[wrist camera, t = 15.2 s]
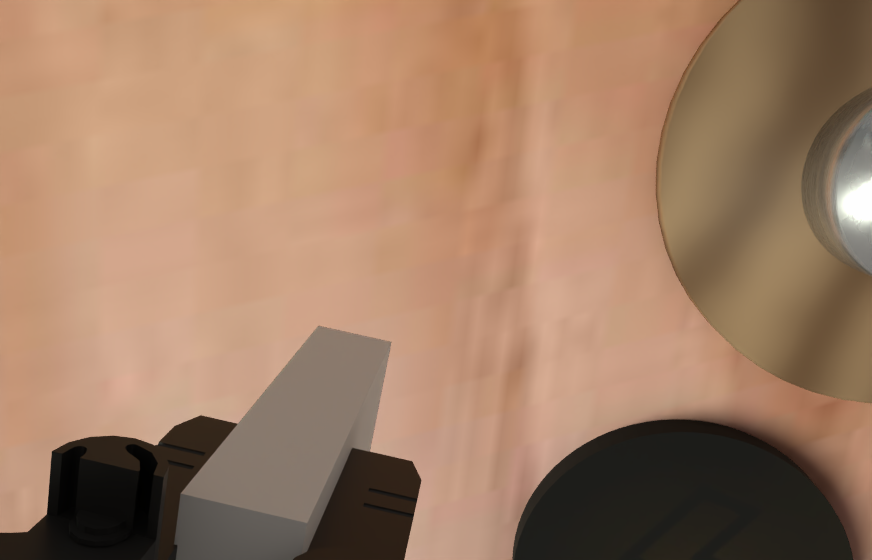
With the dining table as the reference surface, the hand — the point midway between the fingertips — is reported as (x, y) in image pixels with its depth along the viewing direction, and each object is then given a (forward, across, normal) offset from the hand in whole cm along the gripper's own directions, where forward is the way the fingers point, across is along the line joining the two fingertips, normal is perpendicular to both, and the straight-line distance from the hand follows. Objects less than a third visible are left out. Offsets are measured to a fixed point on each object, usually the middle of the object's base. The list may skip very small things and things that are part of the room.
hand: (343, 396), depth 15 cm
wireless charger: (+24, +17, -17) cm, 34 cm away
